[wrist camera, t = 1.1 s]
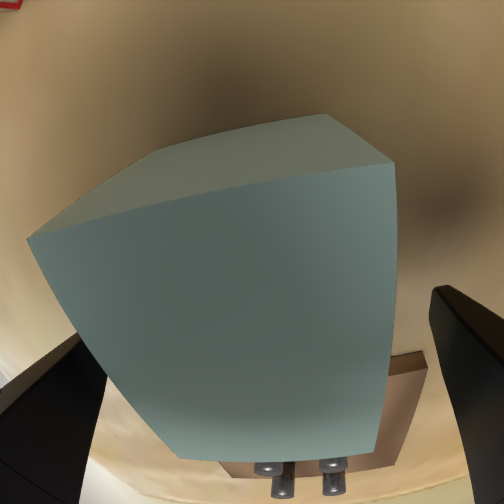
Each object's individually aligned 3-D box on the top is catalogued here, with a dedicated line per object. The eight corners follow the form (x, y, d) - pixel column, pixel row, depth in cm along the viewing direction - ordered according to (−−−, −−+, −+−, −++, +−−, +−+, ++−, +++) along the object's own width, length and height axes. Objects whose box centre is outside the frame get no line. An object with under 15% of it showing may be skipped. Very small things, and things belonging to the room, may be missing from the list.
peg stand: (422, 351, 14) (443, 415, 11) (392, 453, 21) (397, 494, 17) (170, 376, 17) (150, 437, 13) (233, 466, 24) (227, 506, 20)
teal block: (325, 112, 10) (393, 162, 4) (347, 304, 13) (373, 451, 7) (156, 149, 11) (26, 239, 5) (215, 320, 14) (179, 457, 8)
